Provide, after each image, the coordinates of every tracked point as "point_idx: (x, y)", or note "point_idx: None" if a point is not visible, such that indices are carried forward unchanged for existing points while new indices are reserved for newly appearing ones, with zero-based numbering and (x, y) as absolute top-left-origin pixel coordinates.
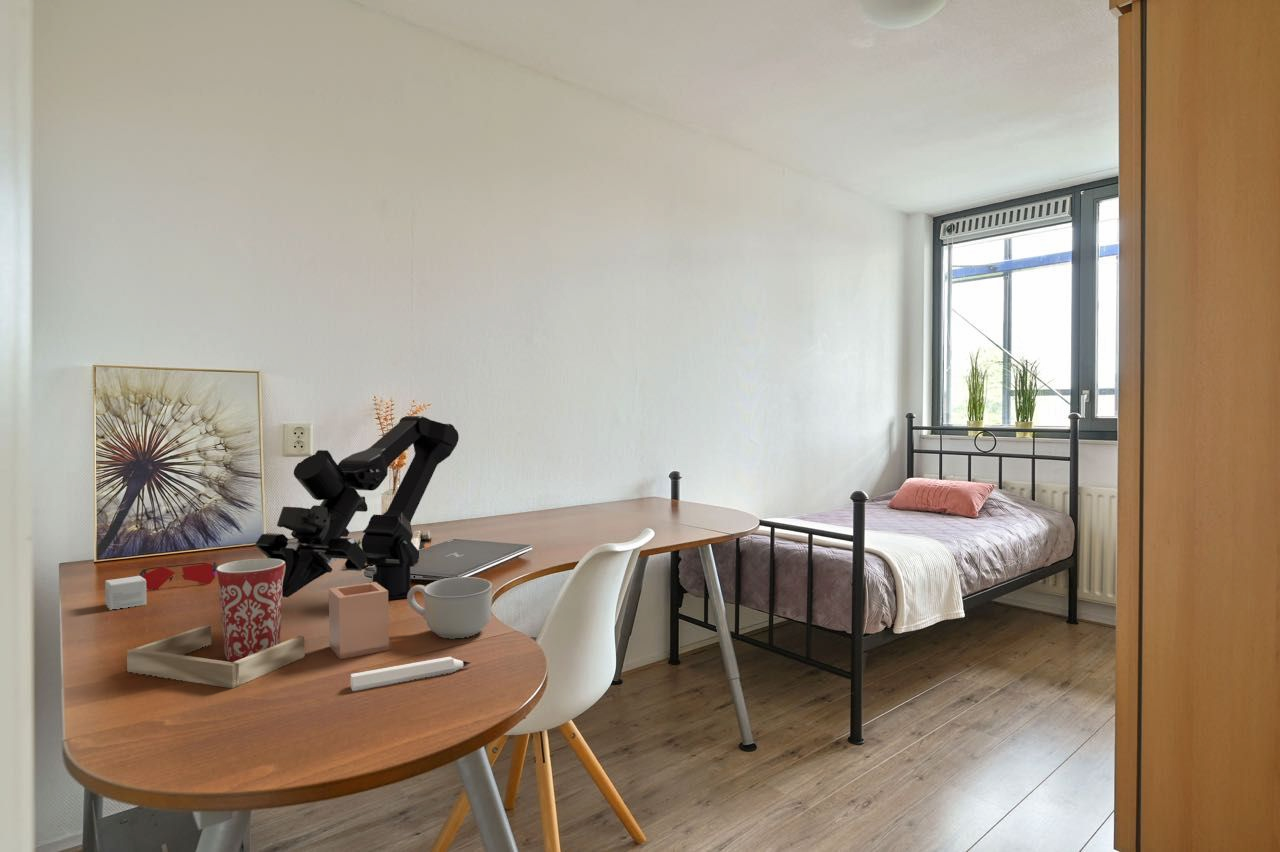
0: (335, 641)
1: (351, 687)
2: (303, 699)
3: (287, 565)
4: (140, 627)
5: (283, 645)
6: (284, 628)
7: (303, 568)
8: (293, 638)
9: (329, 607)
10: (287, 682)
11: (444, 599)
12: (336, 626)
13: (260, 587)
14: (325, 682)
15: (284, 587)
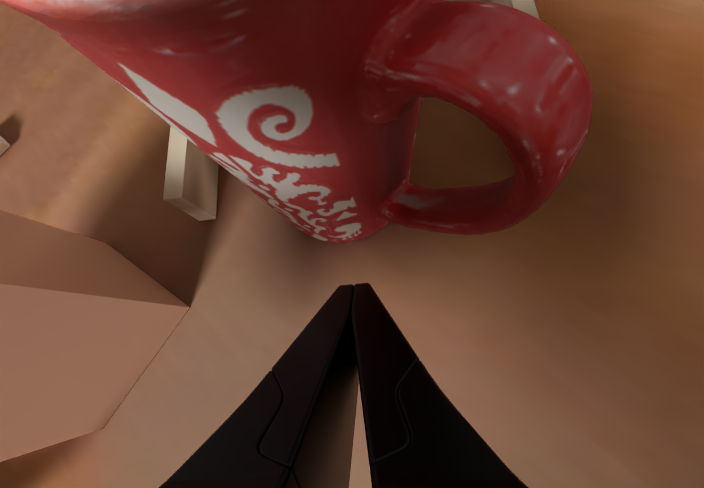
0: (110, 261)
1: (4, 140)
2: (62, 79)
3: (443, 429)
4: None
5: (171, 132)
6: (476, 401)
7: (217, 434)
8: (180, 175)
9: (74, 288)
10: (135, 110)
11: None
12: (49, 238)
13: None
14: (66, 140)
15: (355, 300)
